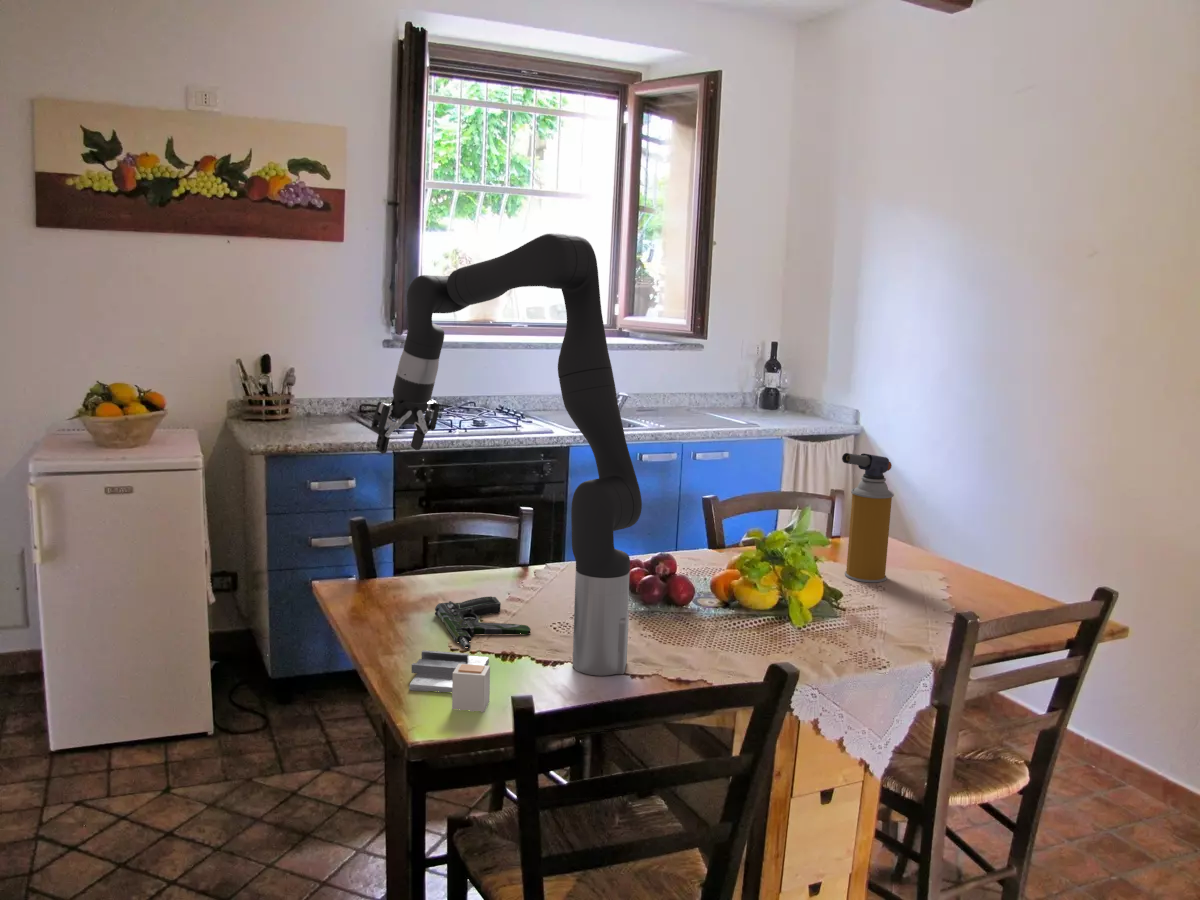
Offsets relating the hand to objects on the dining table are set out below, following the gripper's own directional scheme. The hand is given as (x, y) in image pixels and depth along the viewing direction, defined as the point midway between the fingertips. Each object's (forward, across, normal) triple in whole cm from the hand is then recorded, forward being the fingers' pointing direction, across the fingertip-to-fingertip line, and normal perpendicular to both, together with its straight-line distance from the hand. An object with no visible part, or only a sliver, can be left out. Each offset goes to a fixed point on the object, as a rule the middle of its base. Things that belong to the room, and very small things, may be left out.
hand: (398, 450), depth 206 cm
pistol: (+23, +2, -32) cm, 40 cm away
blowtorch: (+10, +86, -65) cm, 109 cm away
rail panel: (+19, -18, -46) cm, 53 cm away
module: (+16, -24, -56) cm, 63 cm away
